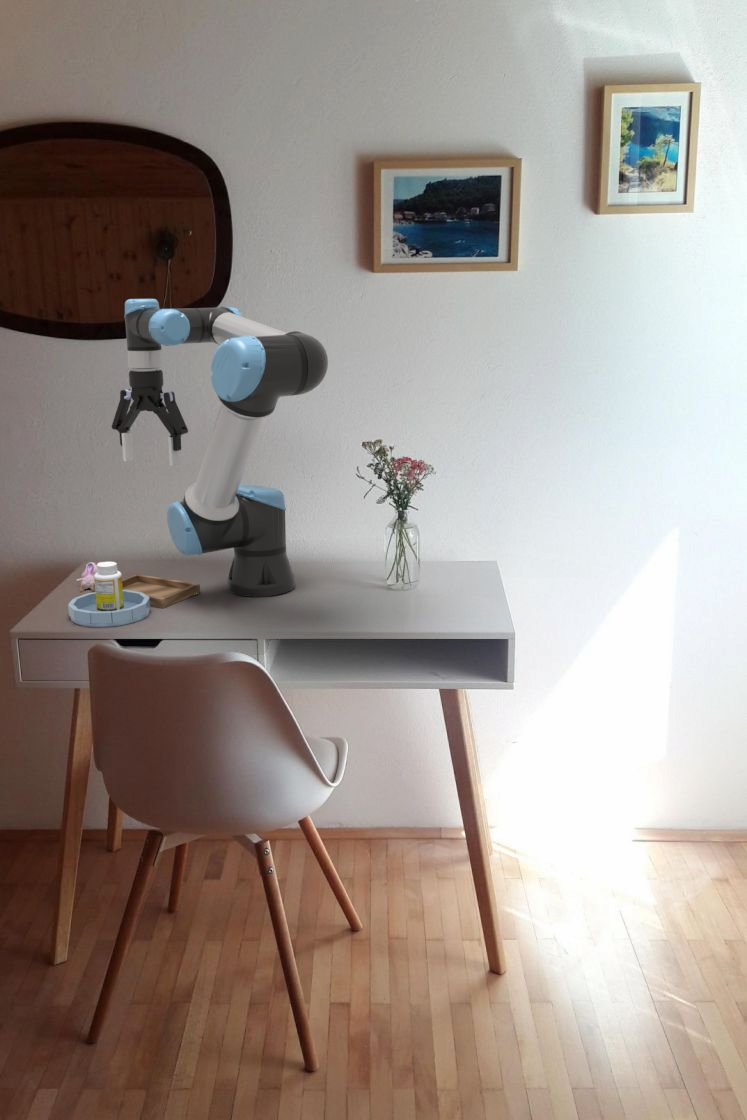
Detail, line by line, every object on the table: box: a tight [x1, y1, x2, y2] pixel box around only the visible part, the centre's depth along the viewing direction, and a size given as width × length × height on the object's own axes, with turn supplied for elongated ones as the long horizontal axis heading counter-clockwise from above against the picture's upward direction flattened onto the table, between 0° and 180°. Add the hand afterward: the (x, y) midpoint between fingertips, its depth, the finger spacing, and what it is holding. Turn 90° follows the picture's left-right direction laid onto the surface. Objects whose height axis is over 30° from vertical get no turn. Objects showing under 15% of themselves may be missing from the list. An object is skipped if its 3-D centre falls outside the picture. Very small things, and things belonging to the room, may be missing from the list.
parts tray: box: [122, 573, 201, 609], centre depth 236 cm, size 18×13×2 cm
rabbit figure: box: [76, 561, 102, 592], centre depth 245 cm, size 6×6×15 cm
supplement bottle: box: [94, 561, 124, 611], centre depth 221 cm, size 6×6×10 cm
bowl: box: [67, 590, 151, 628], centre depth 222 cm, size 16×16×3 cm
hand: (151, 462), depth 245 cm, fingers open, 13 cm apart
